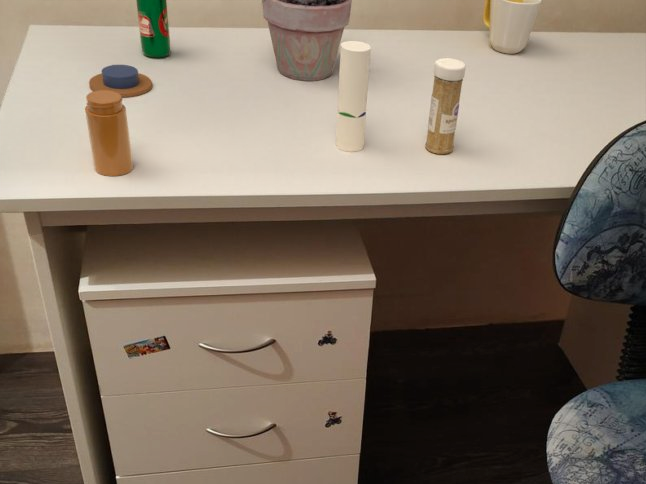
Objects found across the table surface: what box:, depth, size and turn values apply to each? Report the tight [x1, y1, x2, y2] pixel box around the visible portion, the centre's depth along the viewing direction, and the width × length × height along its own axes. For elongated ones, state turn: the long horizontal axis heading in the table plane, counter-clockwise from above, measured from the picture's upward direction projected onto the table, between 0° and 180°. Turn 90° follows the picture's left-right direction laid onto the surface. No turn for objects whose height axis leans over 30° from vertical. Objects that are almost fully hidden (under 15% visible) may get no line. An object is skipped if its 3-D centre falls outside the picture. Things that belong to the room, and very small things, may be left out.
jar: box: [84, 90, 134, 177], centre depth 109 cm, size 5×5×10 cm
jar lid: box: [101, 64, 139, 89], centre depth 133 cm, size 6×6×2 cm
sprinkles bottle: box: [424, 57, 467, 155], centre depth 122 cm, size 5×5×13 cm
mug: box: [482, 0, 543, 55], centre depth 164 cm, size 14×10×10 cm
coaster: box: [88, 72, 153, 98], centre depth 134 cm, size 10×10×1 cm
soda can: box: [135, 0, 172, 59], centre depth 142 cm, size 5×5×12 cm
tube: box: [335, 40, 372, 153], centre depth 120 cm, size 4×4×15 cm
